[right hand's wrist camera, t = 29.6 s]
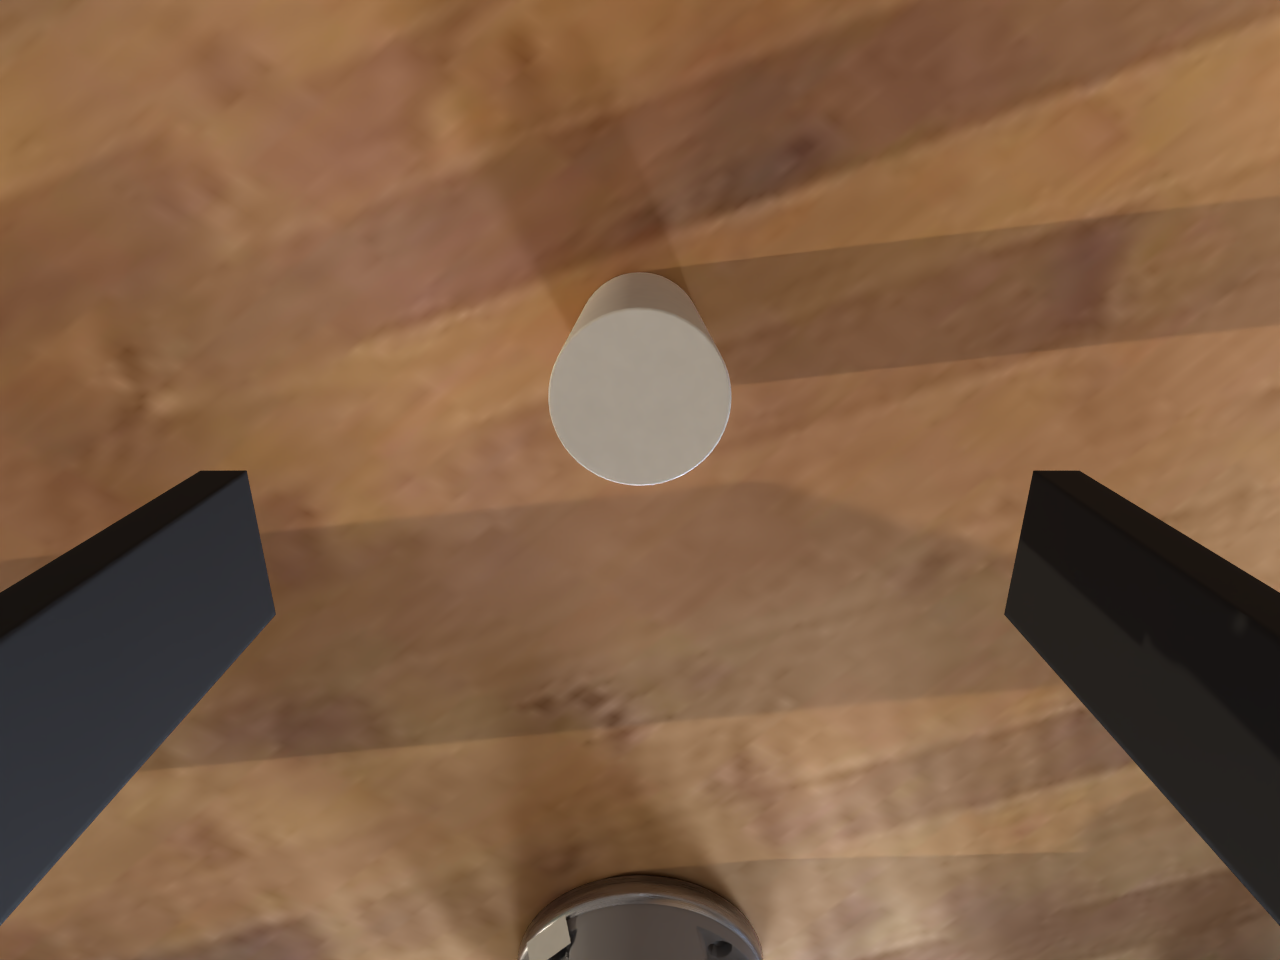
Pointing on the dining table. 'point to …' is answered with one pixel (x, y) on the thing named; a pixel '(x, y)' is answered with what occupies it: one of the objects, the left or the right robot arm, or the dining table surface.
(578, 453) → the canister
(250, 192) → the dining table surface
